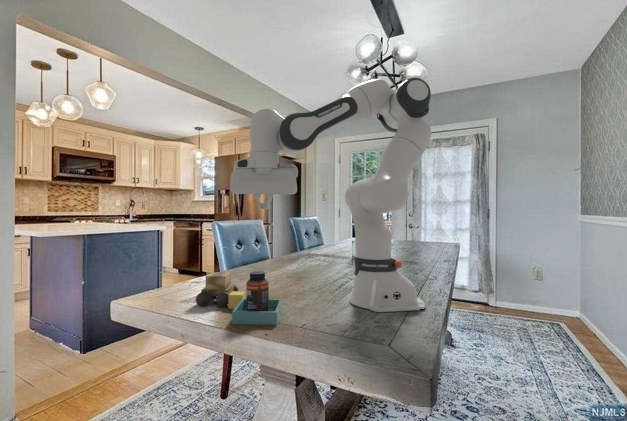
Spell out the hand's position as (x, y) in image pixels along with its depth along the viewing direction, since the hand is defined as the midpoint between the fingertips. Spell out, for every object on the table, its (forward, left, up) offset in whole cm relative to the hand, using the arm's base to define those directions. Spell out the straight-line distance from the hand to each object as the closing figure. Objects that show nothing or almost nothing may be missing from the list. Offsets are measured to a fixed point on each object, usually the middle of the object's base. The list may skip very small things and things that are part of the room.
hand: (263, 208), depth 93 cm
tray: (-1, +12, -29) cm, 31 cm away
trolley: (+14, -1, -29) cm, 32 cm away
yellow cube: (+7, +4, -29) cm, 30 cm away
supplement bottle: (-1, +12, -29) cm, 31 cm away
